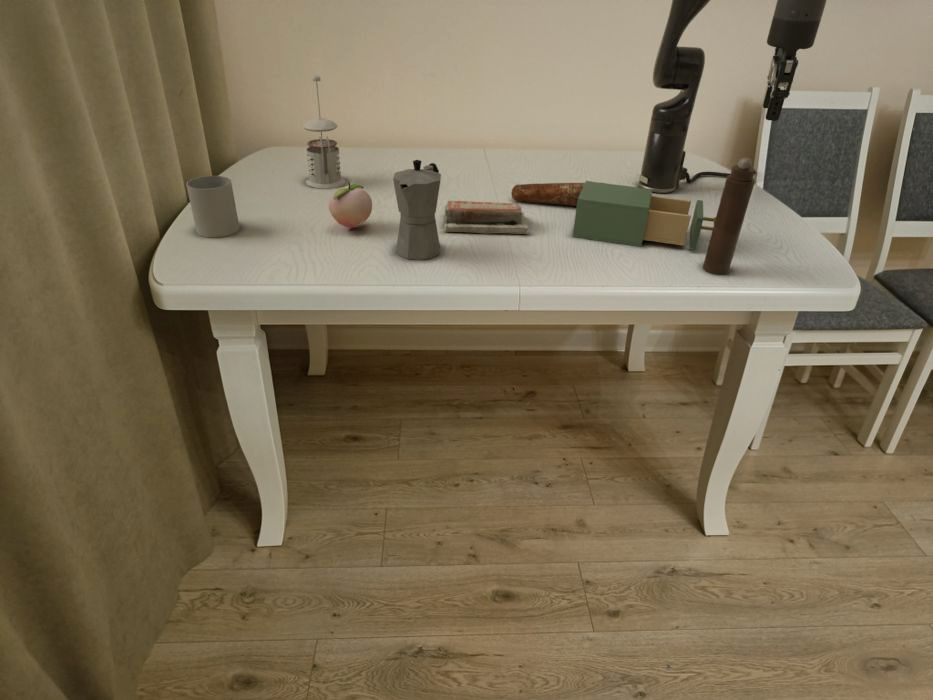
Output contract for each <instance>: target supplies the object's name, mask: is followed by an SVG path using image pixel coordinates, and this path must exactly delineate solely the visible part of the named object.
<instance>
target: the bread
mask: <svg viewBox="0 0 933 700" xmlns="http://www.w3.org/2000/svg"><path fill="white" fill-rule="evenodd" d="M584 185H585V182H547V183H525V184H524V183H522V184H515V185H514V186H513V187H512V189H511V198H512V200H514V201H518V202H527V203H535V204H549V205H561V206H571V207H577V201H578V197H579V195H580V193H581V191H582V189H583V187H584Z"/></svg>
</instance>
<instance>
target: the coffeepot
mask: <svg viewBox="0 0 933 700" xmlns="http://www.w3.org/2000/svg"><path fill="white" fill-rule="evenodd" d="M412 164H413V168H408V169H404V170H400V171H397V172H394V174H393V177H392V181H393V187H394V192H395V198H396V204H397V210H398V212H399V214H400V217H399V226H398V231H397V232H398V233H397V240H396V247H395V253H396V254H397V255H398V256H400V257H402V258H404V259H407V260H414V261H424V260H429V259H432V258H435V257H437V256H438V255H439V254H440V253H441V251H440V250H441V245H440V238H439V233H438V227H437V226H438V225H437V220H436V213H437V206H438V199H439V193H440V187H441V181H442V180H441V179H442V173H440V172H439V171H440V170H439V168H438V165H437V164H436V163H435V162H431V163H429V164H428V165H424V166H423V168H421V167H422V160H420V159H414V160H412Z"/></svg>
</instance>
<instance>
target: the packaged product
mask: <svg viewBox="0 0 933 700" xmlns="http://www.w3.org/2000/svg"><path fill="white" fill-rule="evenodd" d="M525 215H526V214H525V212H523V210H522V206H521V205H519V204H518V203H511V202H510V203H508V202H492V201H471V200H470V201H468V200H447V202H446V205H445V206H444V218H443V230H444V232H447V233H475V234H485V235H489V234H490V235H491V234H512V235H513V234H515V235H516V234H517V235H518V234H519V235H527V234H528V230H529V225H528V223H527V219H526V216H525Z"/></svg>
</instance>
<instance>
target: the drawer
mask: <svg viewBox="0 0 933 700" xmlns="http://www.w3.org/2000/svg"><path fill="white" fill-rule="evenodd" d="M691 205H692V200H690V199H683V198H674V197H667V196H660V195H659V196H658V195H651V200H650V206H649V211H648V216H647V221H646V226H645V231H644V236H643V241H650V242H656V243H662V244H663V243H664V244H669V245H670V244H671V245H676V246H682V247H683V246H685V243H686V238H687V234H688V231H689V249H690V250H696V249H697V246H698V242H699V238H700V235H701V231H702V230H704V231H711V232H712V231H713V227H714V226H707V225H703V224H704V223H703V222H704V221H706V222H713V224H714V223H715V219H716V216H715V217H707V216H704V200H703V199H697V200H696V202H695V207H694V211H693V215H691V214H689V212H690V208H691ZM691 217H692V220H691ZM690 222H691V224H690ZM689 226H690V227H689Z"/></svg>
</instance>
